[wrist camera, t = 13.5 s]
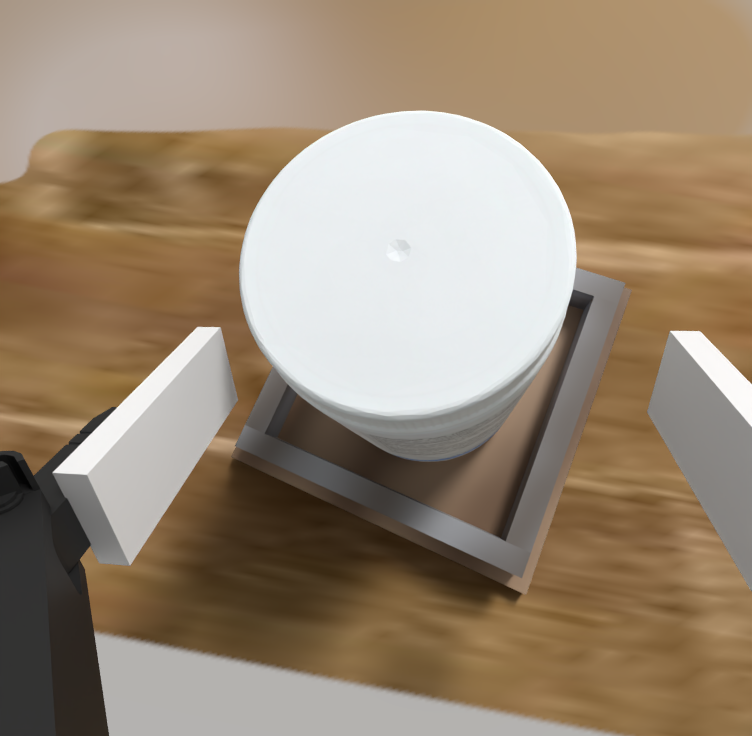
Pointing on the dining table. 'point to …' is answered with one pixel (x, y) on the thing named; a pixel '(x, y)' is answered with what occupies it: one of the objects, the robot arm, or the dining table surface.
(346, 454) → the dock
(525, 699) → the dining table surface
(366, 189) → the supplement tub
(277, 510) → the dining table surface
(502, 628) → the dining table surface
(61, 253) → the dining table surface
